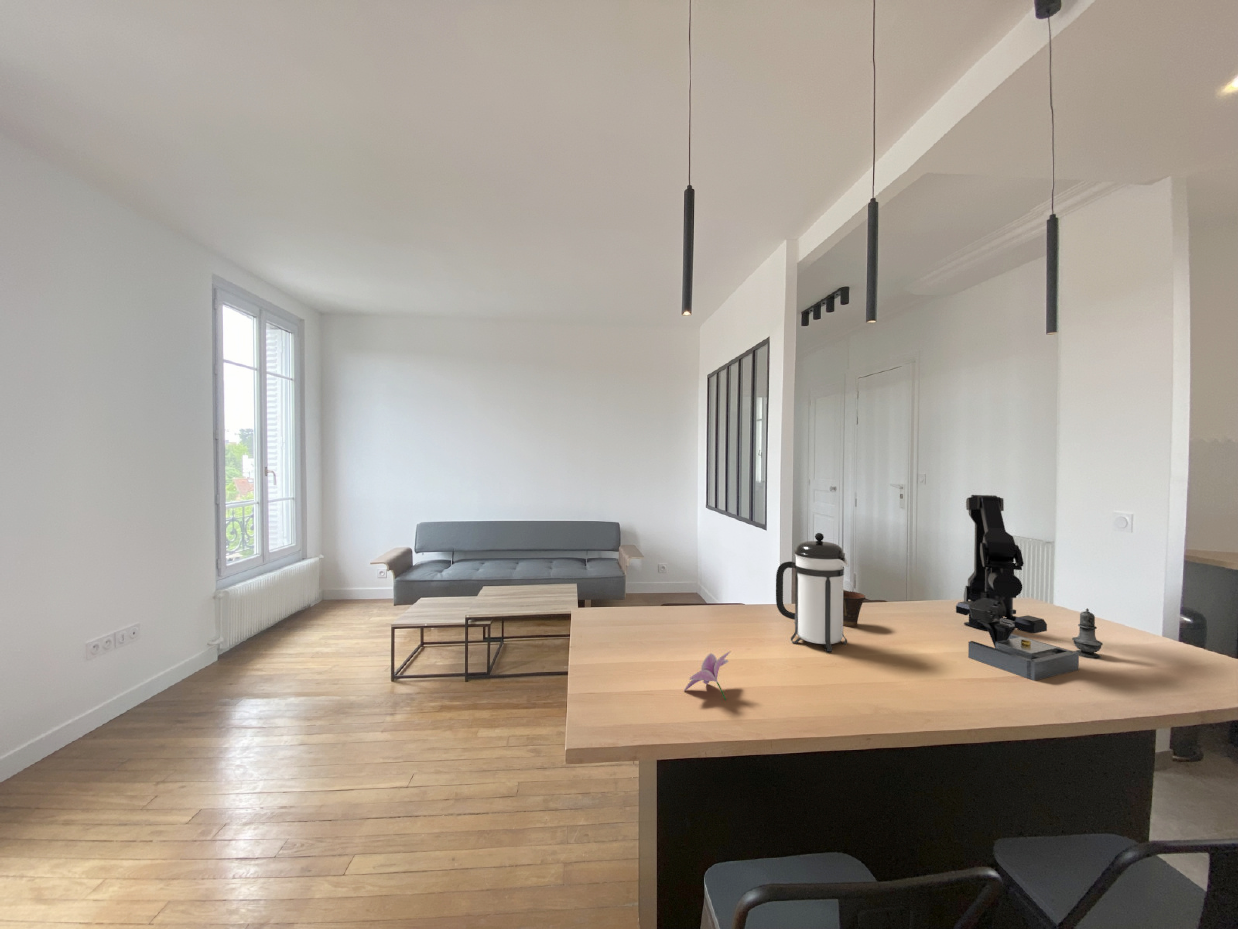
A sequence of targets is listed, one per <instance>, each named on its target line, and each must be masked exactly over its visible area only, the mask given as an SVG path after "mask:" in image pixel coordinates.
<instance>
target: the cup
mask: <svg viewBox="0 0 1238 929" xmlns="http://www.w3.org/2000/svg"><path fill="white" fill-rule="evenodd" d="M865 598H866V595H865V594H863V593H860V592H857V591H850V590H843V627H847V628H855V627H857V626H858V621H859V615H860V614H861V613H860V612H861V608H862V605H863V603H864V601H865Z"/></svg>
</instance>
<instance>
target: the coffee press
mask: <svg viewBox="0 0 1238 929" xmlns="http://www.w3.org/2000/svg"><path fill="white" fill-rule="evenodd" d="M814 538H815V540H810V541H809V540H808V541H803V542H800V543H799V544H798V545H797V546H796V549H795V550H794V551H793V552H794V553H793V554H794V555H795V562H794V561H793V560H792V561H789V560H788V561H785V562H782V563H780V565H779V566H778V567H777V570H776V574H775V603H776V607H777V610H778V611H779V613H780V615H782V616H784V617H785V618H788V619H790V620H794V633H793V634H792V636H791V637H790V641H791V643H792V644H794V645H795V644H797V643H799V642H800V641H804V642H805V641H806V642H808V643H813V644H819V645H823V648H824V652H825V653H832V652H833V647H832V645H833V644H837V643H841V644H843V645H846V644H848V639H847V638H846V637H845V635H844V626H843V591H844V575H845V567H849V565H850V564H849V562H848V560H847V558H846V553H845V552H844V551H843V548H842V547H841V546H840V545H838V544H836V543H834V542H828V541H823V540H824V538H825V536H824V534H823V533H822V532H817V533H816V534H815V535H814ZM787 569H794V571H795V577H794V578H795V582H794V585H795V586H794V590H795V591H794V593H795V594H794V595H795V597H794V599H795V600H794V601H795V602H794V603H795V604H794V612H792V611H789V610H788V609H786V607H785V605H784V574H785V571H786V570H787ZM795 637H798V638H797V639H795ZM794 639H795V640H794ZM793 640H794V641H793ZM842 640H844V641H842Z"/></svg>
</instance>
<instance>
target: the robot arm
mask: <svg viewBox="0 0 1238 929" xmlns="http://www.w3.org/2000/svg"><path fill="white" fill-rule="evenodd" d="M1004 500H1005V499H1004V498H1003V497H1000V496H997V495H994V494H993V495H992V494H991V495H990V494H989V495H988V494H987V495H986V494H985V495H983V494H971V496H970V497H967V498H966V499H965V501H966V502H965V508H966V511H968V516H969V517H970V518H971V520H972V522H973V523H974V546H973V547H974V553H973V554H974V555H973V557H974V558H973V559H974V560H973V561H974V562H973V563H974V564H973V566H974V567H973V568H974V569H973V573H971V575H970V576H969V577H968V578H967V585H965V587H964V591H963V601H959V602H957V603H956V605H955V613H956V614H960V615H962V616H968V621H966V622H964V623H963V624H964V625H965V626H967V627H972V628H975V629H979V630H982V631H987V632H988V634H989V636H990V639H991V641H992V643H993V648H995V642H998V641H1003V640H1008V638H1009V636H1010V635H1011V634H1013V632H1014V631H1015V629H1016V630H1018V631H1020V632H1023V633H1027V634H1028V633H1029V634H1038V633H1043V632H1047V631H1048V624H1047V623H1046V621H1045V620H1044V618H1040V617H1036V616H1032V615H1028V614H1027V615H1023V616H1016V614H1017V609H1014V599H1017V596H1019V595H1020V594H1021V593H1022V590H1023V584H1022V581H1021V580H1020V578H1019V577H1017V576H1016V575H1015V571H1022V570H1023V567H1024V564H1025V563H1024V557H1023V552H1022V550H1021V549H1020V546H1019V545H1018V544H1016V540H1015V538H1014V536H1013V535H1012V534H1010V533H1008V532H1007V530H1006V527H1005V522H1004V519H1003V518H1004V517H1003V514H1002V513H1003V512H1004V507H1005V505H1004V504H1005V503H1004Z"/></svg>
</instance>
